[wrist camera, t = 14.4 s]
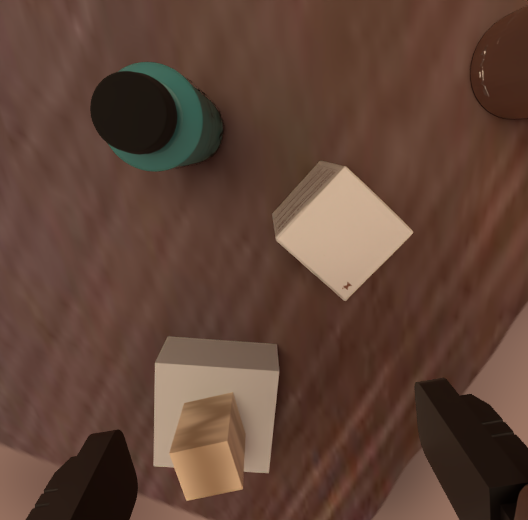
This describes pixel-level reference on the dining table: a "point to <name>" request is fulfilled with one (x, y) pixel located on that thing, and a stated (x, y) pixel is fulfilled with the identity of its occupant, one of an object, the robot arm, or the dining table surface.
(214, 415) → the birch block
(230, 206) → the dining table surface
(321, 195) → the supplement box
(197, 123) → the beverage bottle
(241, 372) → the flat white box
